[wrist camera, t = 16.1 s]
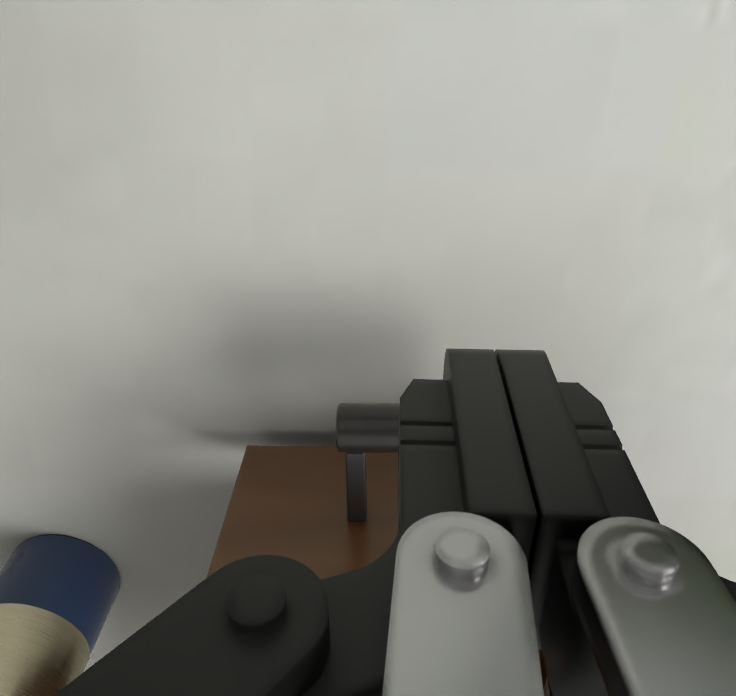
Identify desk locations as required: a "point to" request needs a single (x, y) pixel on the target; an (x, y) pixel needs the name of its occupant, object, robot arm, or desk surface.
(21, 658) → the pencil tin
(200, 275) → the desk surface
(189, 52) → the desk surface
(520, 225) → the desk surface
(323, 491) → the drawer
